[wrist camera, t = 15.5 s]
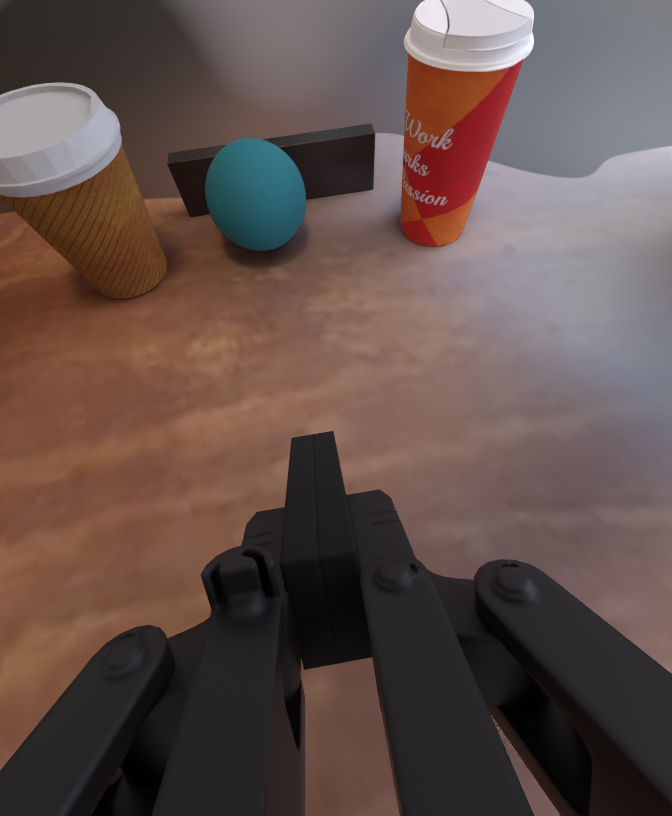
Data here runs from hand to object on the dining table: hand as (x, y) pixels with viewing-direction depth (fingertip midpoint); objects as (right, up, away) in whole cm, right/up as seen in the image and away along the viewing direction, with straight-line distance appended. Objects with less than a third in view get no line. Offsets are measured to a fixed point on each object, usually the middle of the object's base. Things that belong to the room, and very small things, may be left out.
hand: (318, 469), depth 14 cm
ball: (-6, +19, +17) cm, 27 cm away
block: (-5, +23, +24) cm, 33 cm away
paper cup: (+9, +19, +21) cm, 29 cm away
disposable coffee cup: (-17, +14, +20) cm, 30 cm away
